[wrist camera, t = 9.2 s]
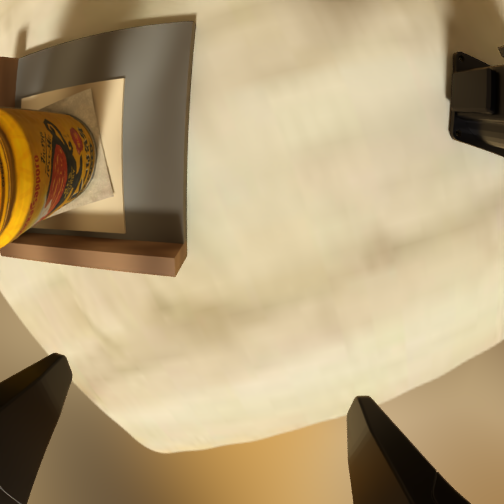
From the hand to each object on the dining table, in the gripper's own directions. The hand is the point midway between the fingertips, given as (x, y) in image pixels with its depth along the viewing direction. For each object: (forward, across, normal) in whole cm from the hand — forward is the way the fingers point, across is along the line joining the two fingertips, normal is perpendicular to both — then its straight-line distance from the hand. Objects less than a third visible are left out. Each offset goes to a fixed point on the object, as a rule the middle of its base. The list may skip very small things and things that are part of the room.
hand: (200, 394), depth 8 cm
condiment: (+11, +13, -5) cm, 18 cm away
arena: (+13, +11, -6) cm, 18 cm away
